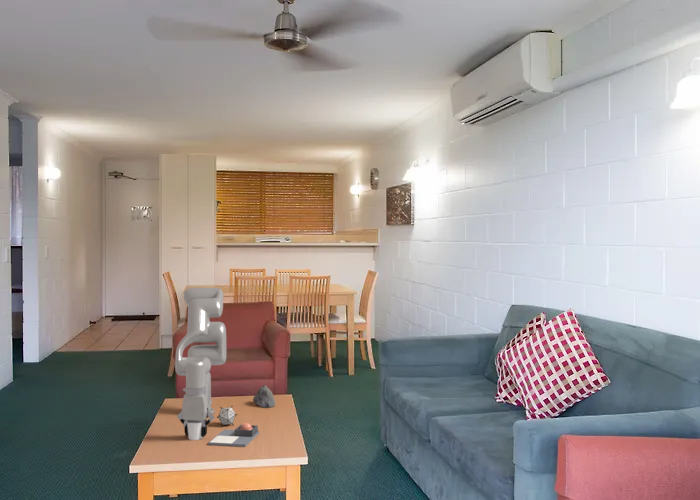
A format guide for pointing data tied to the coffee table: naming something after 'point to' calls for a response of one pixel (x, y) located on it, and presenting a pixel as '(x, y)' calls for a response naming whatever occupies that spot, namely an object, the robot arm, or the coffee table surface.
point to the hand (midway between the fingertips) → (195, 435)
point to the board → (235, 437)
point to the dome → (246, 427)
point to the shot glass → (194, 430)
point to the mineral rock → (264, 397)
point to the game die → (226, 416)
